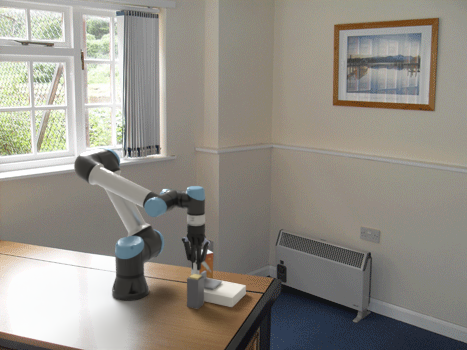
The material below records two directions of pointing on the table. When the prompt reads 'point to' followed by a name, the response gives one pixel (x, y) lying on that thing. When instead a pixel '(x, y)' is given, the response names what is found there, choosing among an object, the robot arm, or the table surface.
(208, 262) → the small box
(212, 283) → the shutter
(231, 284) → the socket
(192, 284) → the plug
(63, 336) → the table surface
